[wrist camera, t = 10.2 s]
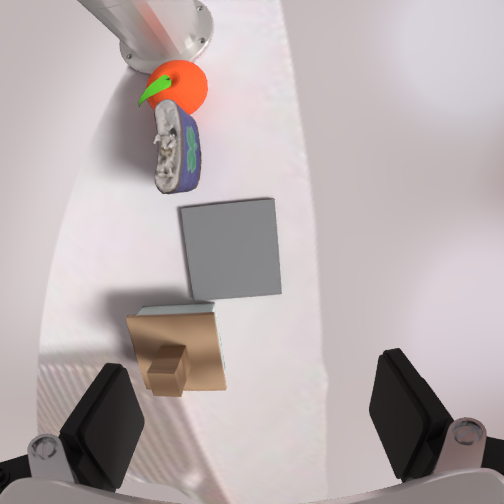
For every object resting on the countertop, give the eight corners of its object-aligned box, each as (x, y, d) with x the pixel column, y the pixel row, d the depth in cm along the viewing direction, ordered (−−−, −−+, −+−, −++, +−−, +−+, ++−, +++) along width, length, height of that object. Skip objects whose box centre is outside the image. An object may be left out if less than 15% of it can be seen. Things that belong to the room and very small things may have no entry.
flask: (176, 117, 33) (147, 95, 23) (200, 115, 33) (179, 90, 23) (178, 192, 35) (148, 197, 25) (202, 190, 35) (181, 195, 25)
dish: (142, 306, 39) (132, 319, 35) (214, 302, 38) (210, 316, 34) (158, 367, 41) (150, 383, 37) (225, 367, 41) (222, 383, 37)
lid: (128, 315, 35) (105, 340, 28) (214, 311, 34) (205, 340, 28) (148, 385, 37) (133, 417, 31) (226, 386, 37) (221, 421, 30)
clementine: (163, 137, 34) (142, 128, 27) (141, 94, 32) (118, 78, 25) (221, 105, 33) (213, 88, 26) (197, 62, 32) (184, 38, 25)
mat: (182, 208, 36) (181, 208, 35) (274, 198, 35) (274, 199, 35) (195, 299, 38) (194, 300, 38) (281, 292, 38) (281, 294, 37)
